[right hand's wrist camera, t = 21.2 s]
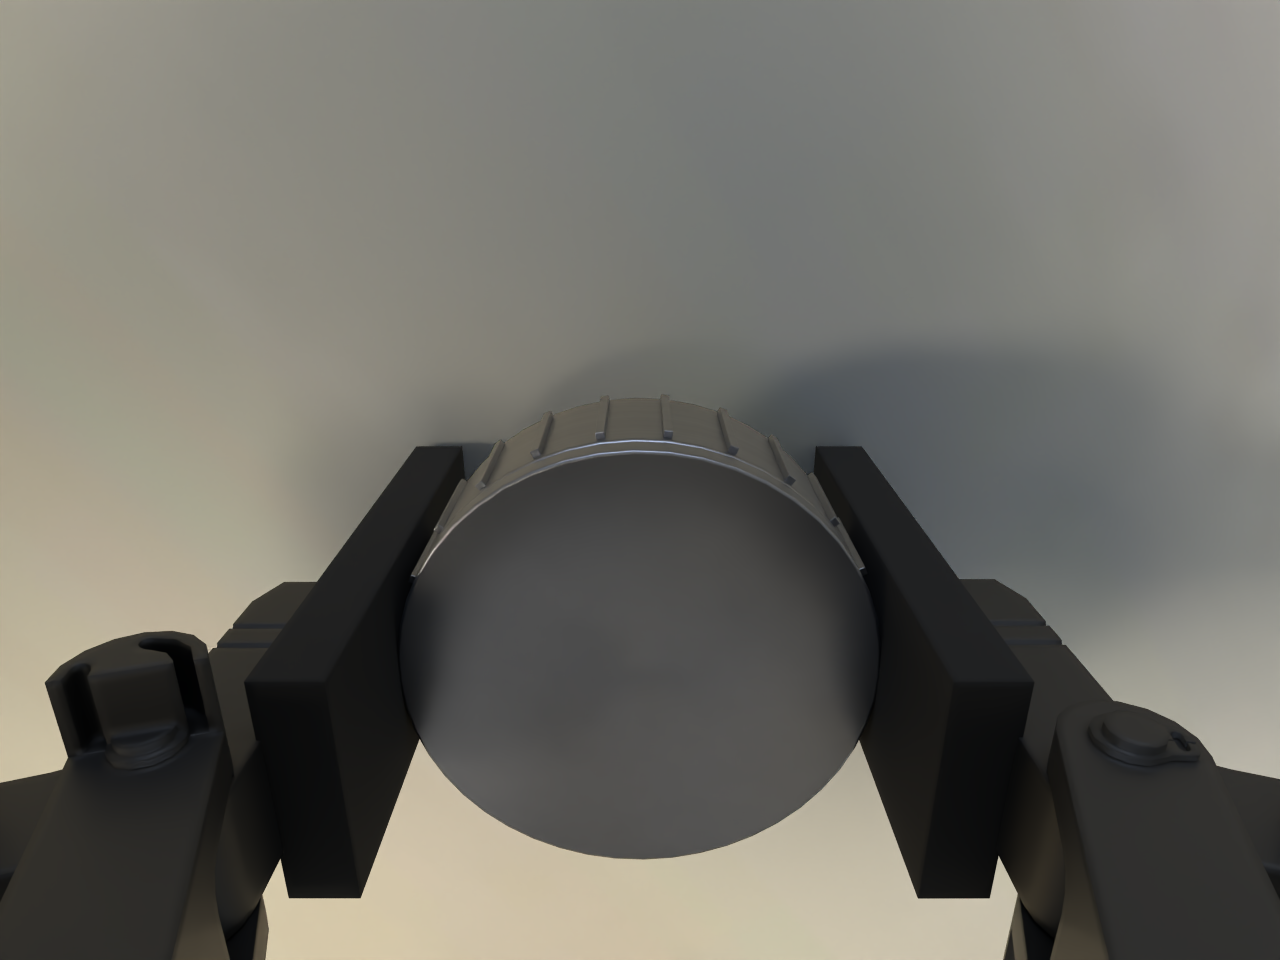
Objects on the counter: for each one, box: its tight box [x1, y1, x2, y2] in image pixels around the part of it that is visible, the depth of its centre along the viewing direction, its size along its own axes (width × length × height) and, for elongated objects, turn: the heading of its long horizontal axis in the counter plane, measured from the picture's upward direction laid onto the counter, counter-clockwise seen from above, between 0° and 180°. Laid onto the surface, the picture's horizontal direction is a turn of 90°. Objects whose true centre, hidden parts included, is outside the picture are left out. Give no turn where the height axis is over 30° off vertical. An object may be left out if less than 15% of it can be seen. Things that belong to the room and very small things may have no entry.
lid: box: [398, 395, 881, 859], centre depth 11 cm, size 6×6×2 cm
